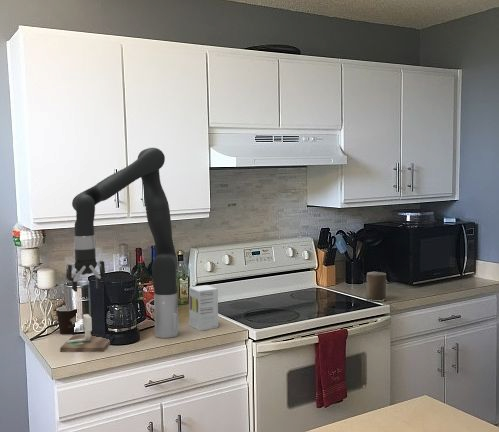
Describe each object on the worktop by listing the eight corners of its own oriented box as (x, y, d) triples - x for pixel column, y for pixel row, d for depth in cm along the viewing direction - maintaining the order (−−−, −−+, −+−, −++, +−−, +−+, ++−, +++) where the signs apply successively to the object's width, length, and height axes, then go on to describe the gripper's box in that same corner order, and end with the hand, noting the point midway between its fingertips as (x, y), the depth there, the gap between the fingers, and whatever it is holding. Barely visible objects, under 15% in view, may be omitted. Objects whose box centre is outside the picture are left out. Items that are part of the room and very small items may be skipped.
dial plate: (114, 338, 229) (114, 334, 229) (103, 351, 213) (103, 347, 213) (73, 338, 229) (73, 334, 229) (60, 351, 213) (60, 347, 213)
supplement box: (188, 325, 247) (188, 286, 246) (207, 322, 252) (207, 284, 251) (199, 331, 239) (198, 290, 238) (218, 327, 244) (218, 288, 243)
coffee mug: (61, 336, 232) (60, 312, 232) (54, 331, 239) (53, 307, 239) (89, 331, 239) (88, 307, 238) (81, 326, 246) (81, 303, 245)
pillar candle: (381, 303, 286) (382, 273, 285) (363, 300, 291) (363, 271, 290) (388, 299, 294) (389, 270, 293) (369, 297, 299) (370, 268, 298)
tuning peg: (89, 337, 224) (88, 314, 223) (92, 342, 219) (91, 317, 218) (66, 340, 221) (65, 316, 220) (69, 345, 215) (68, 320, 214)
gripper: (99, 244, 225) (101, 285, 226) (62, 247, 217) (64, 290, 218) (106, 246, 219) (108, 288, 220) (69, 250, 211) (71, 294, 212)
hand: (86, 289), depth 219 cm, fingers open, 8 cm apart
